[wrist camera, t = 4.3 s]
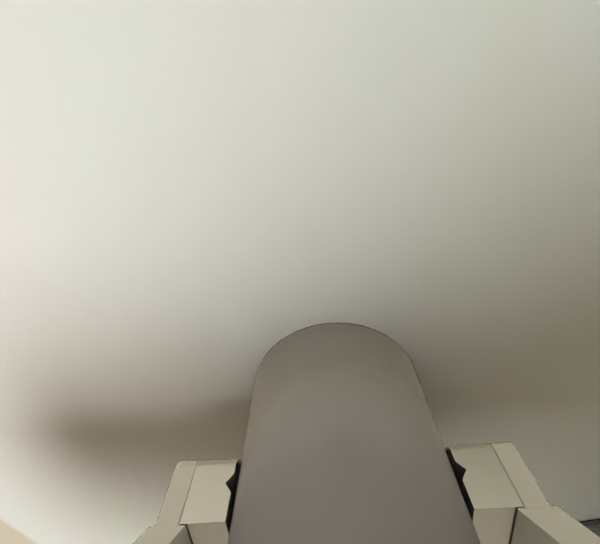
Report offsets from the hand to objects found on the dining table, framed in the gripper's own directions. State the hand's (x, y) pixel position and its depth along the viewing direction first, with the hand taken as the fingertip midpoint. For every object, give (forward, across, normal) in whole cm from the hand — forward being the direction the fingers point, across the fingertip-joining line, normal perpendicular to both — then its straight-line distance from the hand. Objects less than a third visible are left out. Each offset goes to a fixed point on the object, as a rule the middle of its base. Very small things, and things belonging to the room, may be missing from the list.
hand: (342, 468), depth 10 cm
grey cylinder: (+3, 0, 0) cm, 3 cm away
